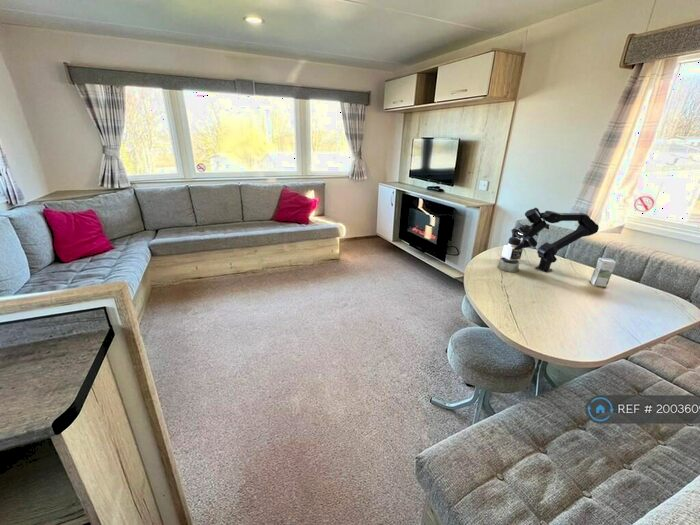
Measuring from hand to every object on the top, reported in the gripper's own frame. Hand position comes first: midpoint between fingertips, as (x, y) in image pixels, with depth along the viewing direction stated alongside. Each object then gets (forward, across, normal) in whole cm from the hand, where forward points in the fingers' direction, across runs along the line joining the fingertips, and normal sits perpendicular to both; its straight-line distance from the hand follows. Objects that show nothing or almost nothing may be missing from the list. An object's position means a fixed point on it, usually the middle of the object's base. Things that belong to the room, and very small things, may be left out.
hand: (511, 247), depth 177 cm
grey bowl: (+9, 0, +10) cm, 13 cm away
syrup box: (-19, +19, +38) cm, 47 cm away
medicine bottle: (+4, 0, +6) cm, 7 cm away
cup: (+1, -14, +18) cm, 23 cm away
